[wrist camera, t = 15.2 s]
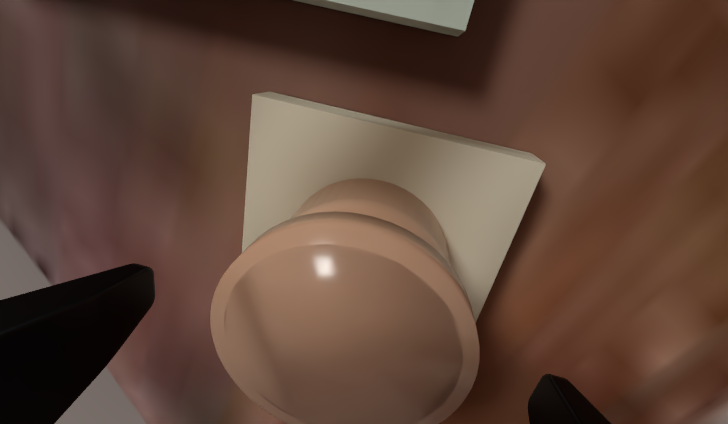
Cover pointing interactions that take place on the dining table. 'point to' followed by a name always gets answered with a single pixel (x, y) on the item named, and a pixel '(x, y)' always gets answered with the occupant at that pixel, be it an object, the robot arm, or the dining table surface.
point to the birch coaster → (390, 177)
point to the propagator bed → (409, 12)
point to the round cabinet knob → (349, 313)
